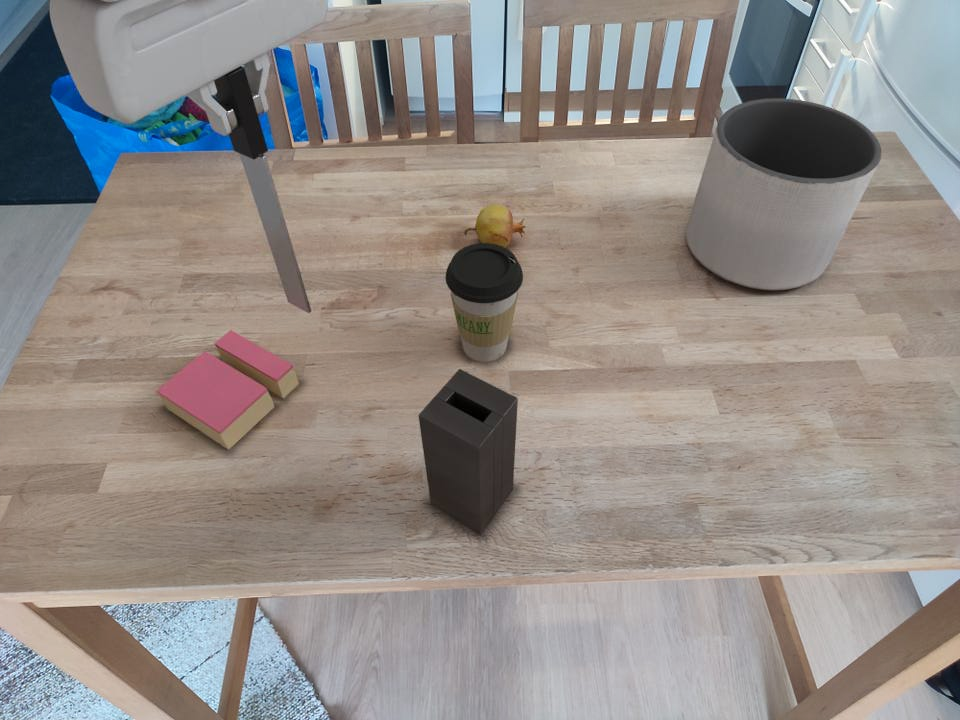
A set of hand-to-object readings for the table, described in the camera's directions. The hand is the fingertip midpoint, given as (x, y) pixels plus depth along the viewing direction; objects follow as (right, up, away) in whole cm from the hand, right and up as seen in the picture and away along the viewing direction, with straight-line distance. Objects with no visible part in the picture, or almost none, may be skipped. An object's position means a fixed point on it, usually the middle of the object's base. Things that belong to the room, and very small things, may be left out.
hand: (241, 121), depth 52 cm
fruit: (+21, 0, +56) cm, 60 cm away
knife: (0, -13, +16) cm, 21 cm away
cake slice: (-11, -21, +38) cm, 45 cm away
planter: (+63, -1, +54) cm, 83 cm away
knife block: (+18, -35, +25) cm, 47 cm away
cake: (-15, -25, +34) cm, 45 cm away
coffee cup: (+20, -17, +41) cm, 49 cm away
